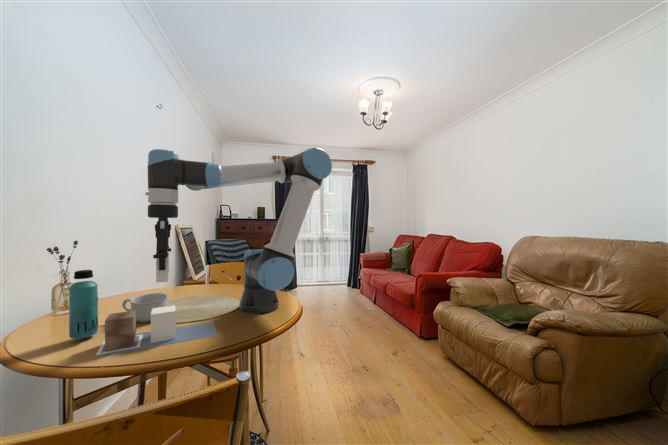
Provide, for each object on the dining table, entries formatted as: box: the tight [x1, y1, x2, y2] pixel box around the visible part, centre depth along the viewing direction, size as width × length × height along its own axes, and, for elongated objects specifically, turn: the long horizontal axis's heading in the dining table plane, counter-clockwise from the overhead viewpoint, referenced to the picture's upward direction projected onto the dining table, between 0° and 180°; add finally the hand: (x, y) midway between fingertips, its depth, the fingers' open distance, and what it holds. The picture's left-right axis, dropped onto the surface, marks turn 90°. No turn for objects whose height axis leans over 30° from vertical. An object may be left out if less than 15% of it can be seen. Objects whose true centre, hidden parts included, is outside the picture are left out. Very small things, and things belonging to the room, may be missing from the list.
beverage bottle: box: [68, 269, 99, 340], centre depth 81 cm, size 6×7×20 cm
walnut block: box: [104, 310, 137, 351], centre depth 77 cm, size 6×6×8 cm
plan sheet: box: [95, 321, 219, 359], centre depth 82 cm, size 29×13×1 cm, turn 120°
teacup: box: [122, 292, 169, 324], centre depth 96 cm, size 14×11×8 cm
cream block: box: [150, 305, 177, 343], centre depth 82 cm, size 6×6×8 cm
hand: (163, 277), depth 82 cm, fingers open, 13 cm apart
